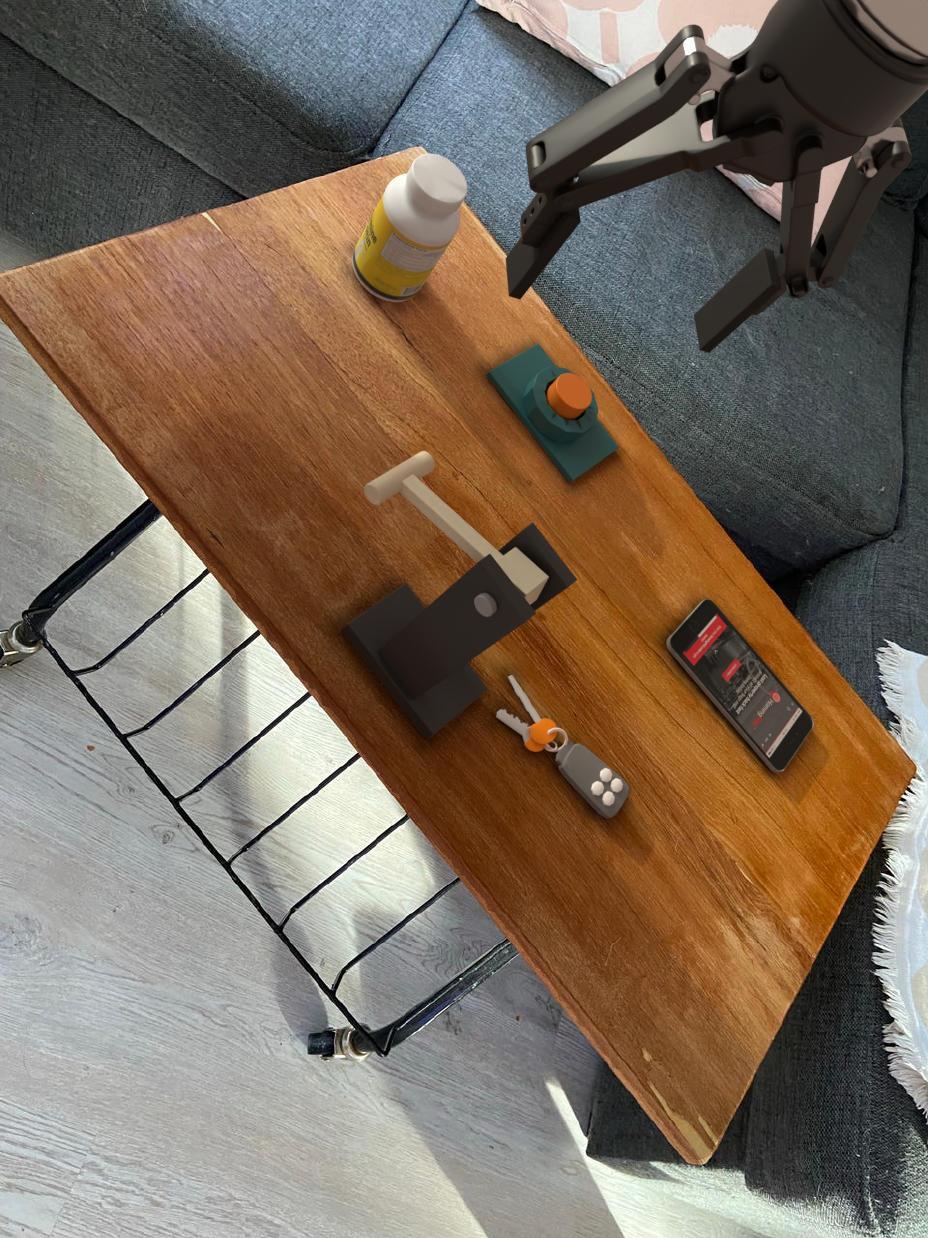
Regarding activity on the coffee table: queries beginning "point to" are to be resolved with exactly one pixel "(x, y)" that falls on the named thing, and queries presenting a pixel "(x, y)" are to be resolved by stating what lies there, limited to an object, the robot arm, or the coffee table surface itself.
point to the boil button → (569, 396)
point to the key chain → (571, 760)
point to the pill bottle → (410, 229)
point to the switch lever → (453, 522)
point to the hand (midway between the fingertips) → (611, 308)
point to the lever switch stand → (450, 632)
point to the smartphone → (741, 685)
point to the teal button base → (551, 413)
